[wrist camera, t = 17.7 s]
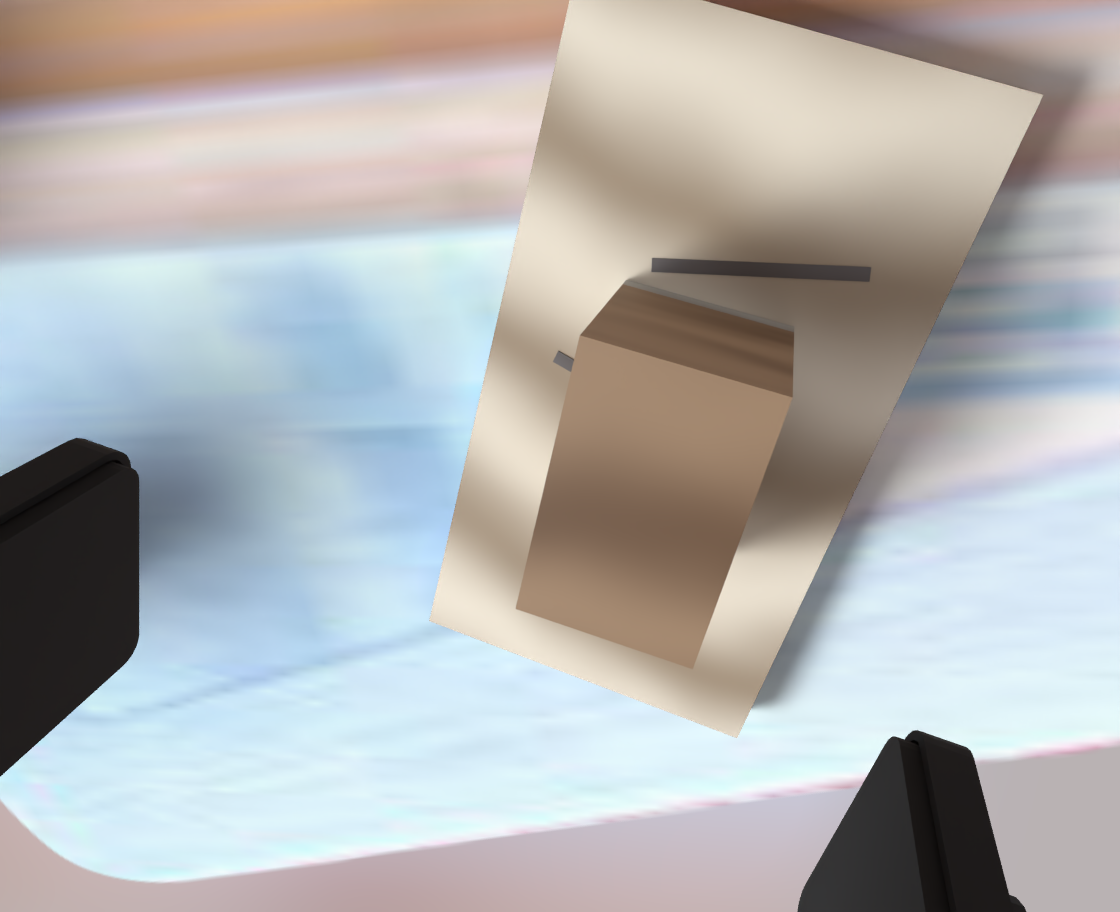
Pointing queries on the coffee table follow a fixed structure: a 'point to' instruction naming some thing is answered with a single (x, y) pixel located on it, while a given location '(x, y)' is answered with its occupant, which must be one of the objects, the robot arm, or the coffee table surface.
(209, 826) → the coffee table surface
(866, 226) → the beige flat slab
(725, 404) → the block
